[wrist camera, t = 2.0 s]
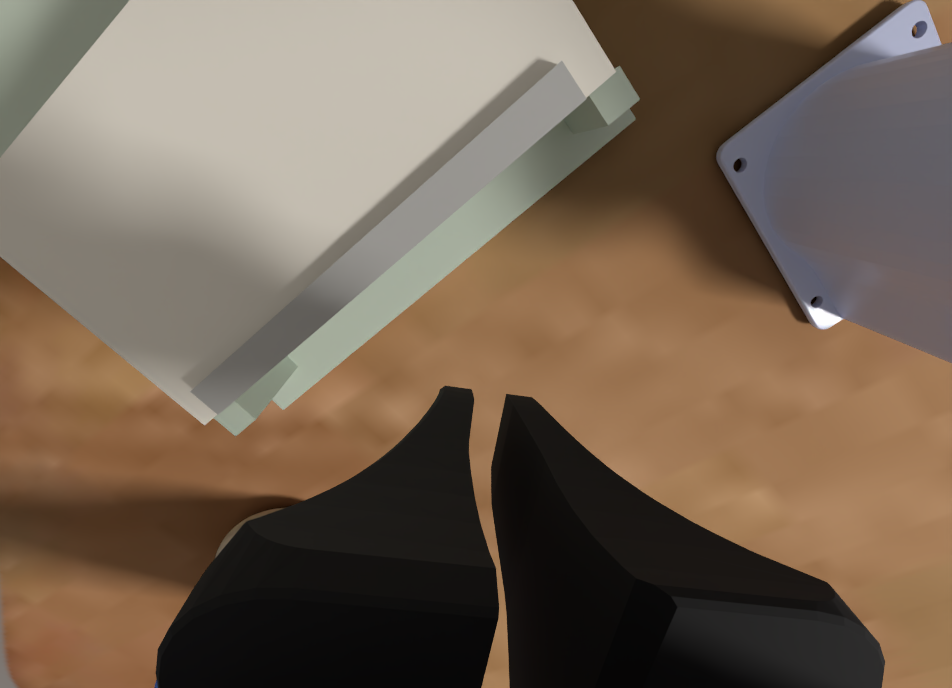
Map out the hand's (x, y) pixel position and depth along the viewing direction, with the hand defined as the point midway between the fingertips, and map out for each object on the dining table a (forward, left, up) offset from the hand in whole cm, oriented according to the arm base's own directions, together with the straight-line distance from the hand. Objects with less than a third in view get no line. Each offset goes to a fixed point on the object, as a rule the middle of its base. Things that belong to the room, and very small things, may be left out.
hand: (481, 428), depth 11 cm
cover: (+8, 0, -4) cm, 9 cm away
